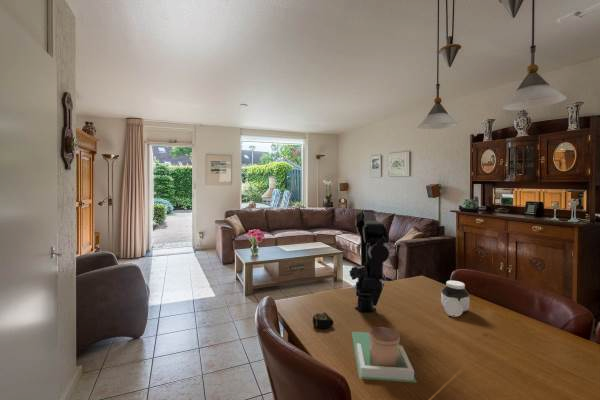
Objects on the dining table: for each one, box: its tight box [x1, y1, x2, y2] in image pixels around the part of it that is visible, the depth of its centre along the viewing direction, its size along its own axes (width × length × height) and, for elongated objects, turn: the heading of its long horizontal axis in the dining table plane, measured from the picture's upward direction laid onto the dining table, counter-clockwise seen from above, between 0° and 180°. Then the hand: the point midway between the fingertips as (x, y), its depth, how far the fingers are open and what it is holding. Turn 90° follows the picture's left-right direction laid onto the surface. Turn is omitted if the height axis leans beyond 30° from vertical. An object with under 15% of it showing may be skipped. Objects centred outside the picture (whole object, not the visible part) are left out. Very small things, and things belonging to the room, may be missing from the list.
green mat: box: [351, 331, 418, 383], centre depth 89 cm, size 25×15×1 cm, turn 174°
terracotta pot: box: [368, 326, 401, 367], centre depth 83 cm, size 8×8×9 cm
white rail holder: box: [357, 343, 415, 380], centre depth 83 cm, size 12×14×2 cm
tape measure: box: [312, 312, 334, 329], centre depth 107 cm, size 7×7×4 cm
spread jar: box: [440, 280, 470, 317], centre depth 119 cm, size 12×11×12 cm
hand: (374, 305), depth 98 cm, fingers closed
